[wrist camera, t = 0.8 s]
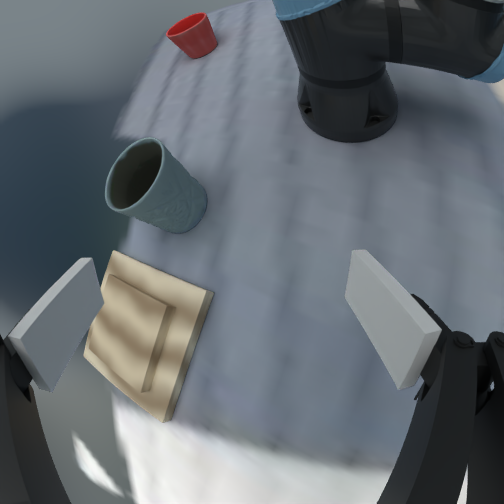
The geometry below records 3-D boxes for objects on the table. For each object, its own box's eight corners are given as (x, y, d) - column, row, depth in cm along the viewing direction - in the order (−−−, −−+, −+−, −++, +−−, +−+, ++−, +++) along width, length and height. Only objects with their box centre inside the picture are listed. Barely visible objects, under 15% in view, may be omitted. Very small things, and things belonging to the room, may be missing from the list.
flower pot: (224, 33, 53) (208, 7, 45) (221, 53, 50) (202, 23, 42) (189, 47, 57) (171, 23, 48) (182, 68, 54) (161, 42, 45)
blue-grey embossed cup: (183, 170, 43) (137, 130, 32) (226, 193, 38) (179, 147, 28) (148, 221, 43) (94, 192, 32) (185, 252, 38) (126, 225, 28)
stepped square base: (121, 253, 43) (104, 246, 40) (214, 292, 35) (197, 288, 32) (91, 356, 41) (74, 355, 37) (171, 419, 33) (153, 426, 29)
